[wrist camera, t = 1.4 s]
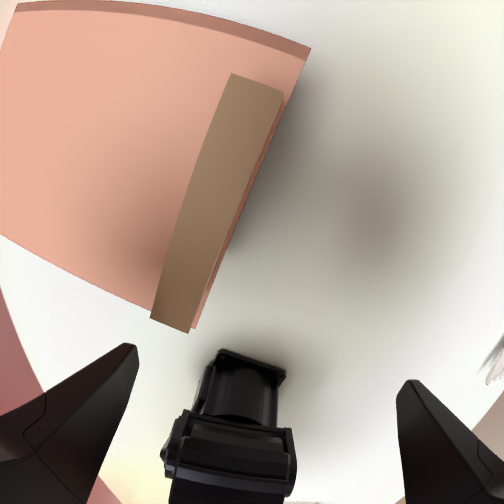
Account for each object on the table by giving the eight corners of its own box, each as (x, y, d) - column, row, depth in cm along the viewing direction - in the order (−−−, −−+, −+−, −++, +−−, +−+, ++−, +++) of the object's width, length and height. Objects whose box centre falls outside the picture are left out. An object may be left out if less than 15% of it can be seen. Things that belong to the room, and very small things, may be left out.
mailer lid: (306, 58, 11) (322, 24, 7) (203, 307, 17) (178, 373, 12) (38, 8, 10) (-20, -5, 5) (-4, 210, 16) (-56, 238, 11)
